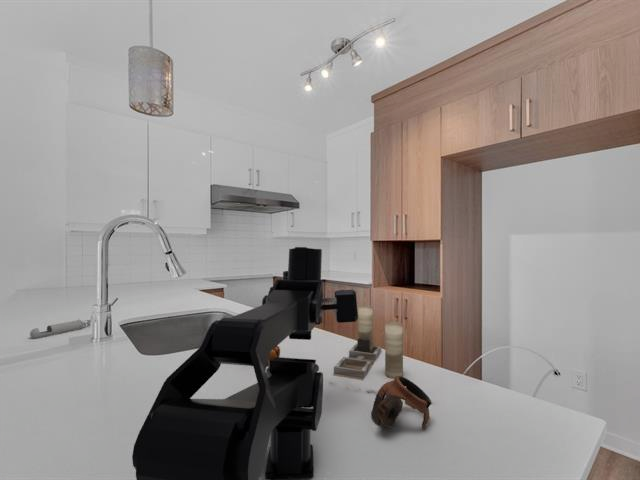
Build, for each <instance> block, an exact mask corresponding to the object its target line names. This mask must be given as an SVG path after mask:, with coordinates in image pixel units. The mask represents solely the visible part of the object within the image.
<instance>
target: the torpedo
mask: <svg viewBox="0 0 640 480" xmlns="http://www.w3.org/2000/svg"><path fill="white" fill-rule="evenodd" d="M91 323H92V320H91V319H86V320H80V319H77V320H72V321H67V322H66V321H65V322H61V323H56V324H50V325H47V327H46V330H45V331H40V329H39V328H38V327H36V328H32V329H31V330H30V332H29V337H30V338H32V339H41V338H45V336H46V337H50V336H49V335H51V336H55V335H54V334H56V335H59V334H58V333H60V334H64V333H63V332H65V333H68V331H70V332H74V330H75V331H79V330H81V329H82V328H84V327H90V326H91ZM40 337H41V338H40Z"/></svg>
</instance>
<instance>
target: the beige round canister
mask: <svg viewBox="0 0 640 480" xmlns="http://www.w3.org/2000/svg"><path fill="white" fill-rule="evenodd" d="M384 330H385V331H384V345H385V346H384V362H385V363H384V369H385V370H384V373H385V374H384V375H385V376H386V377H387V378H389V379H392V380H394V379H395V377H396V376H402V377H404V324H403V323H402V322H399V321H387V322H385V323H384Z"/></svg>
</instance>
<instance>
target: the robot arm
mask: <svg viewBox="0 0 640 480" xmlns="http://www.w3.org/2000/svg"><path fill="white" fill-rule="evenodd" d="M288 250H289V251H288V263H287V264H288V265H287V266H288V267H287V268H288V269H287V270H284V271H282V272H283V273H282V278H283V279H279V278H277V279H276V280H275V282H274V284H273V285H272V286H270V288H269V291H268V294H267V295H264V296H263V298H262V300H261V304H262V305H259V306H256V307H254V308H252V309H249V310H246V311H244V312H240V313H239V314H237V315H234V316H231V317H222V318H220V319H219V320H217V319H215V320H214V321H213V322H212V323H211V324H210V326H209V327H208V330H207V331H206V334H205V337H204V339H203V341H202V343H201V345H200V346H199V348H198V349H196V351H194V353H192V354H191V355H190V356H189V357H188V358H187V359H185V361H184V362H182V363H181V365H179V367H177V368H176V369H175V370H174V371H173V372H172V373H171V374H170V375H169V376H168V377H167V378H166V379H165V381H164V382H163V384H162V386H161V388H160V390H159V392H158V394H157V396H156V398H155V400H154V402H153V404H152V406H151V408H150V410H149V412H148V414H147V416H146V418H145V421H144V422H143V424H142V426H141V427H140V430H139V433H138V435H137V437H136V439H135V442H134V444H133V448H132V449H133V451H132V456H131V458H132V467H134V469H135V479H136V480H260V478H261V474H262V471H263V468H264V464H265V461H266V456H267V461H266V466H265V472H264V477H265V479H266V480H283V479H286V480H287V479H311V478H314V474H315V472H314V469H315V468H314V445H313V444H311V431H312V432H316V431H317V429H318V428H319V427H318V426H319V424H320V420H321V418H322V414H323V413H322V412H323V394H324V374H323V373H324V372H321V371H319V370H320V366H319V365H318V364H316V363H317V362H316V361H317V359H310V358H295V357H294V358H293V357H282V356H281V357H280V356H279V357H274V359H273V360H268V359H269V356H270V351H272V350H273V349H274V348H275V347H276V346H279V345H280V344H281V343H283V341H285V339H286V338H289V339H290V340H302V341H303V340H305V341H310V340H312V331H313V329H314V328H315V327H316V326H317V325H321V324H322V323H323V314H324V311H330V310H332V311H333V313H334V317H335V320H336V322H337V323H338V324H339V323H356V321H358V301H357V292H356V290H354V289H343V290H336V291H334V297H325V298H324V280H322V262H323V261H322V257H323V254H322V253H323V250H322V249H321V248H312V247H311V248H310V247H306V246H295V247H294V248H289V249H288ZM329 303H330V304H329ZM267 363H268V364H267ZM221 365H234V366H235V365H237V366H249V367H253V370H254V374H255V378H256V381H257V382H255V383H253V384H251V385H250V386H248V387H246V388H244V389H242V390H240V391H238V392H236V393H234V394H231V395H230V396H228V397H225V398H222V399H221V398H217V399H216V398H192V397H193V396H194V395H196V393H197V392H199V390H200V389H201V388H202V387H203V386H205V384H206V383H207V382H208V381H209V380H210V379H211V378H212V377H213V376H214V375H215V374H216V373H217V371H218V370H220V367H221ZM269 441H270V444H269ZM268 445H270V446H269V451H267V450H268ZM267 452H268V455H266V454H267Z"/></svg>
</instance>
